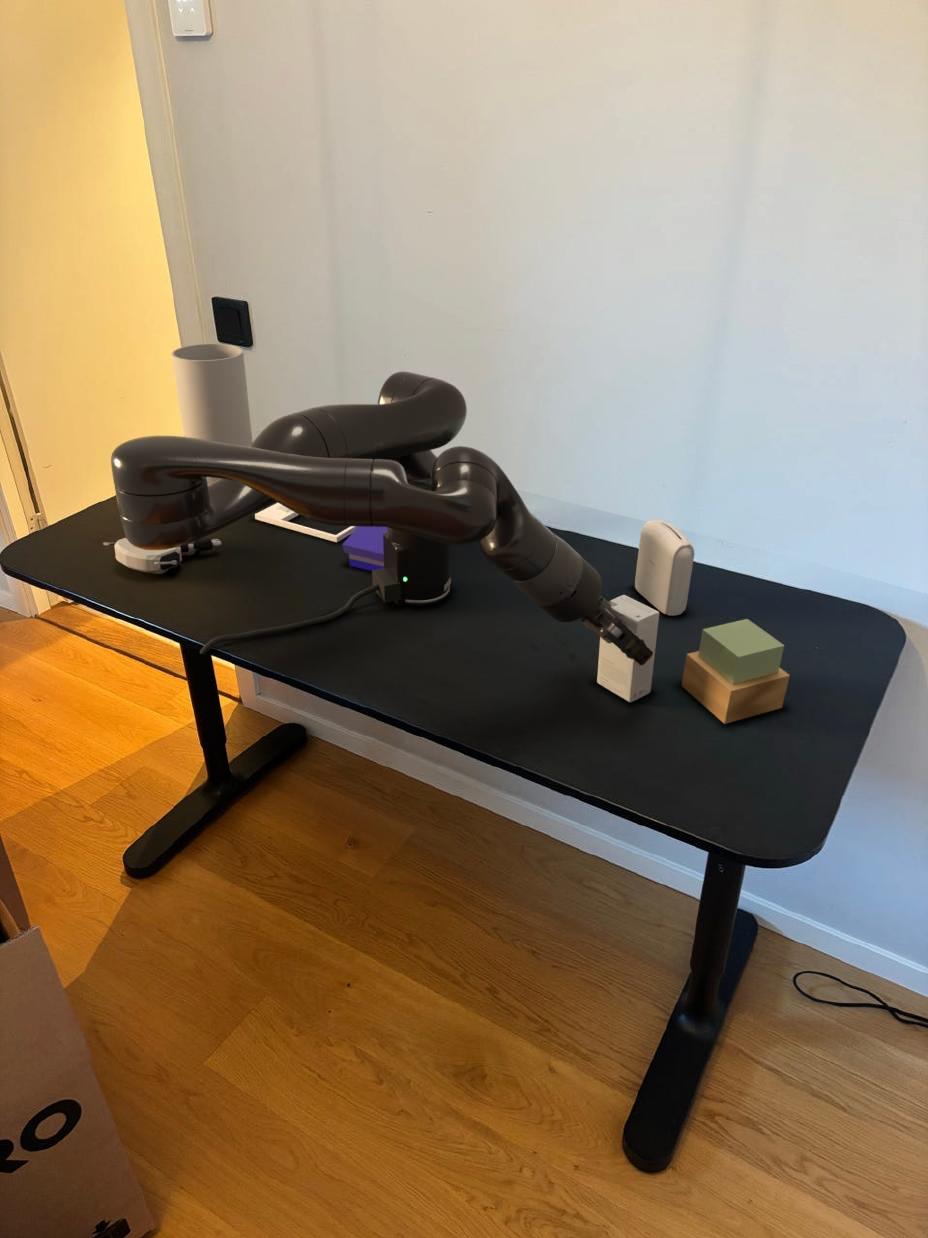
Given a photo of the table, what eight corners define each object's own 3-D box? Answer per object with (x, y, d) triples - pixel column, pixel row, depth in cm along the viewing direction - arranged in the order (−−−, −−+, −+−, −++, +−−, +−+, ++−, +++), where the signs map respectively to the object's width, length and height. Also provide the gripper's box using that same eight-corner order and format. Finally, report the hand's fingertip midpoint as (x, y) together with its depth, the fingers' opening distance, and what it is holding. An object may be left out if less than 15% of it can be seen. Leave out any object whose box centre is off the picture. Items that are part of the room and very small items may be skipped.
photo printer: (629, 587, 142) (639, 514, 136) (653, 583, 143) (664, 511, 137) (664, 619, 134) (675, 543, 127) (689, 614, 135) (701, 538, 129)
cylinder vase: (224, 499, 169) (208, 364, 157) (176, 485, 175) (156, 353, 162) (269, 478, 179) (257, 349, 166) (222, 465, 184) (207, 340, 171)
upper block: (732, 684, 110) (738, 656, 108) (697, 655, 116) (702, 628, 114) (778, 672, 113) (784, 645, 111) (742, 645, 118) (747, 618, 116)
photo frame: (306, 487, 172) (385, 507, 164) (307, 492, 172) (385, 513, 165) (254, 513, 161) (336, 536, 153) (255, 519, 161) (336, 542, 154)
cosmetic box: (651, 692, 117) (663, 611, 111) (628, 705, 115) (639, 622, 108) (616, 671, 121) (626, 592, 115) (593, 683, 119) (601, 602, 113)
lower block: (724, 724, 111) (731, 690, 109) (681, 685, 119) (686, 653, 116) (782, 708, 115) (790, 675, 112) (736, 671, 122) (743, 639, 119)
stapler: (476, 515, 165) (478, 464, 160) (405, 580, 142) (405, 523, 138) (419, 504, 169) (419, 454, 164) (342, 566, 146) (339, 509, 141)
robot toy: (176, 540, 155) (102, 566, 144) (174, 515, 153) (98, 540, 142) (227, 558, 150) (154, 587, 138) (226, 533, 148) (152, 560, 136)
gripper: (505, 573, 110) (579, 636, 120) (561, 629, 99) (638, 693, 109) (546, 527, 110) (618, 594, 119) (608, 578, 98) (681, 647, 108)
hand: (627, 641), depth 114 cm, fingers open, 8 cm apart
